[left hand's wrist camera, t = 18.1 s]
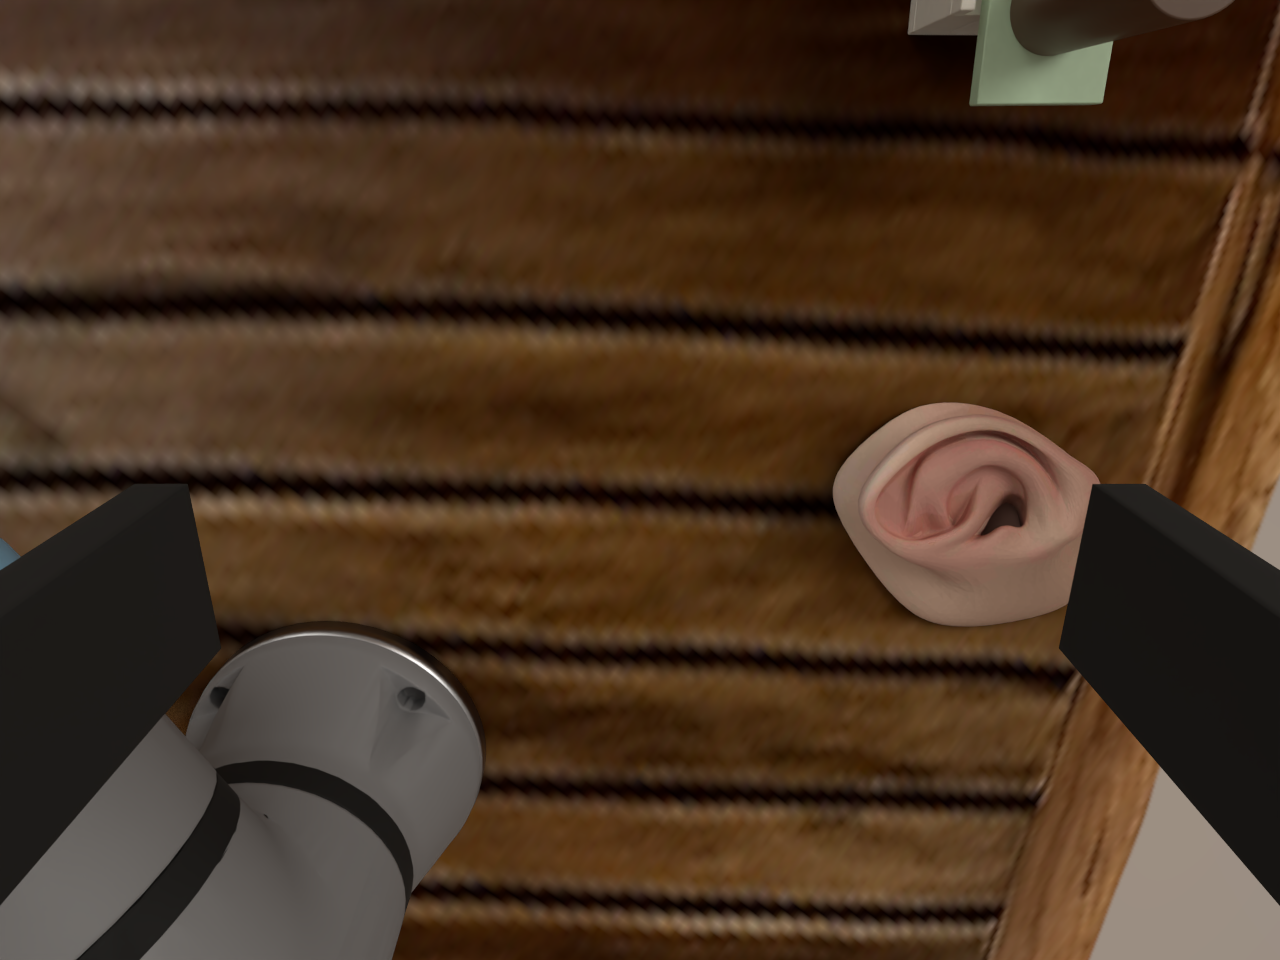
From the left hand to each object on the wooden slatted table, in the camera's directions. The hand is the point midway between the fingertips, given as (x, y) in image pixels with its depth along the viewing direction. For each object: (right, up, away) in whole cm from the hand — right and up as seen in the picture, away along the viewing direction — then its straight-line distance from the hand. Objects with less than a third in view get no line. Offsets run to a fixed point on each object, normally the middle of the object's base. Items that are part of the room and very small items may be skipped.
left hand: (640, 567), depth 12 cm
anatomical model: (+16, 0, +29) cm, 33 cm away
